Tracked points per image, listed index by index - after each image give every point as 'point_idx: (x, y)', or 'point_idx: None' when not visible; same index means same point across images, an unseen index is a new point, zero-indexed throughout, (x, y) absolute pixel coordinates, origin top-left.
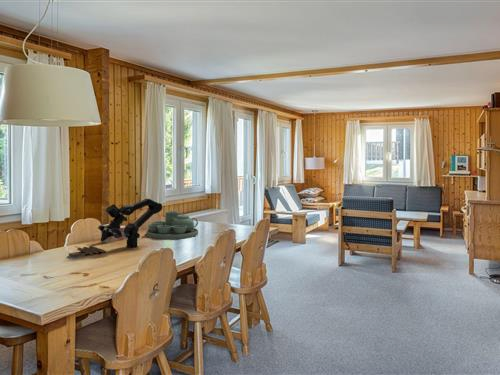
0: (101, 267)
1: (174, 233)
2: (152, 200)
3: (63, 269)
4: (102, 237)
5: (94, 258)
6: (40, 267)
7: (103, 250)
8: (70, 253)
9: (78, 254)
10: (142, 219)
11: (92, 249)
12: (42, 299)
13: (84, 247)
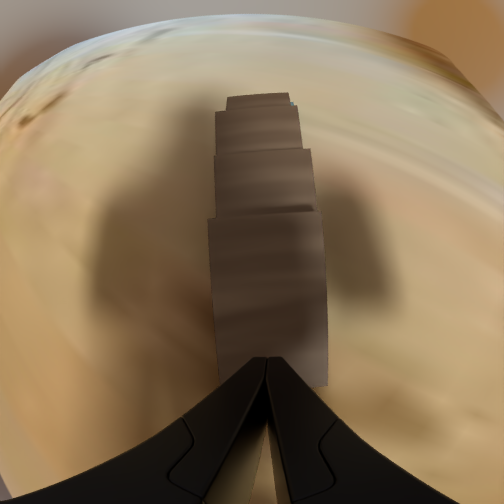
0: (11, 168)
1: None
2: None
3: (107, 78)
4: (248, 392)
5: (113, 200)
6: (194, 42)
7: (221, 372)
8: (272, 94)
9: None
10: None
11: (217, 214)
12: (37, 71)
13: (289, 152)
